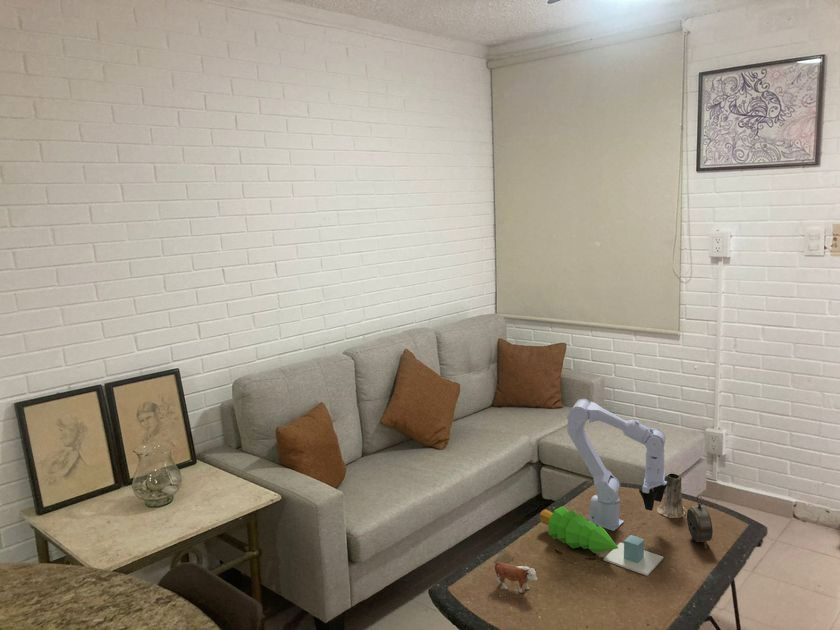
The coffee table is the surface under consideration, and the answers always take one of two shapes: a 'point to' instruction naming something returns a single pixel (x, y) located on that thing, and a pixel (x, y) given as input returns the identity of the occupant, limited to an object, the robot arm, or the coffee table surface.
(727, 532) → the coffee table surface
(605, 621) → the coffee table surface
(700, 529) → the alarm clock
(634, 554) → the teal block
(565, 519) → the decorative tree
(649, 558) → the off-white tile
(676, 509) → the tree stump
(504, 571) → the bull figurine
